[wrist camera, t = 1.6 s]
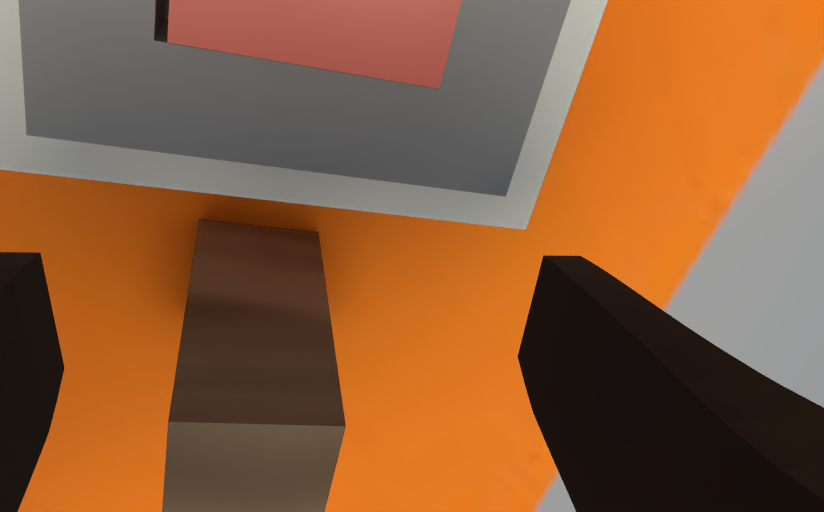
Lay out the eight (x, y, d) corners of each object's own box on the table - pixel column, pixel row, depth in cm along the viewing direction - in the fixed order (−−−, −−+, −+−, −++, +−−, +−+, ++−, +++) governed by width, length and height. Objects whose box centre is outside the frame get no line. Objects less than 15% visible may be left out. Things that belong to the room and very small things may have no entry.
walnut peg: (301, 323, 22) (319, 533, 16) (191, 315, 22) (160, 536, 15) (318, 232, 21) (345, 426, 14) (198, 219, 20) (168, 421, 13)
